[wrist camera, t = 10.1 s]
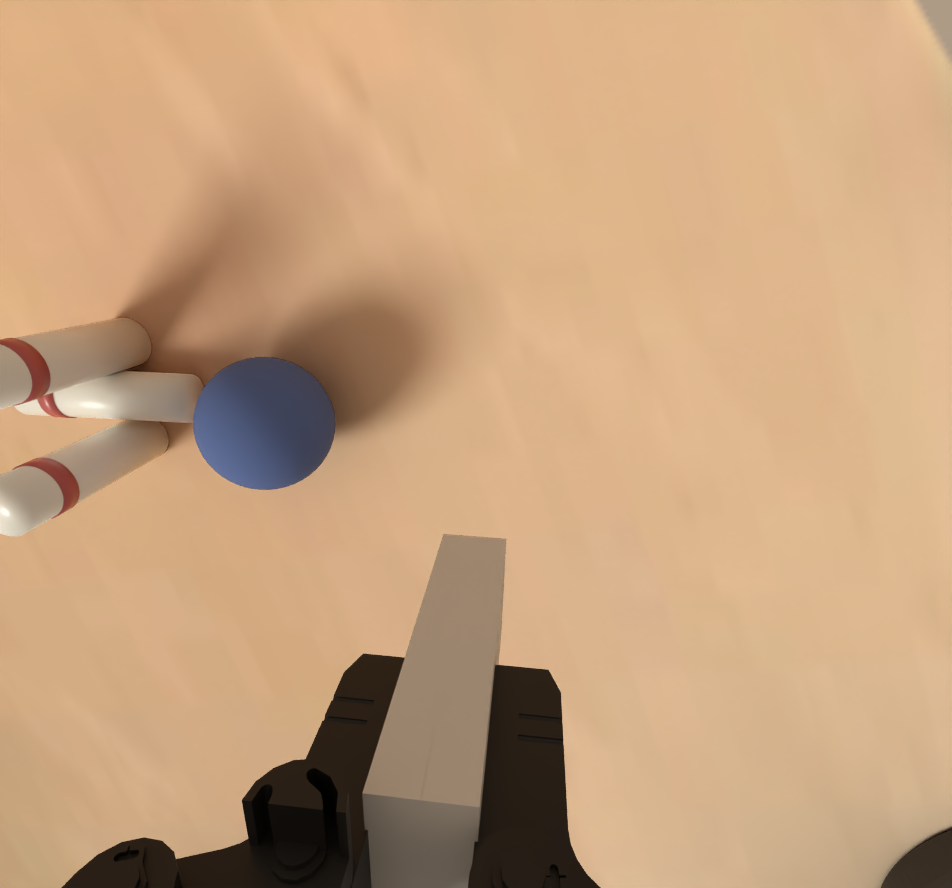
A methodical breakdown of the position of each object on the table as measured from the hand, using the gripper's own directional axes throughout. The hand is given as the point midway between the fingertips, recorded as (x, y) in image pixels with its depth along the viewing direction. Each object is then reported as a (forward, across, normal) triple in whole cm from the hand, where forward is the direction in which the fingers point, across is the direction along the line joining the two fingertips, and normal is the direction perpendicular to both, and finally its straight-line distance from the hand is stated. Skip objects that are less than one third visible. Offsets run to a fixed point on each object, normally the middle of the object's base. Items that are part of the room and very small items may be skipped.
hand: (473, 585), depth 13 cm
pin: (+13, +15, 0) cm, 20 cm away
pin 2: (+14, +19, +2) cm, 24 cm away
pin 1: (+14, +19, -2) cm, 24 cm away
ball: (+11, +11, 0) cm, 16 cm away
